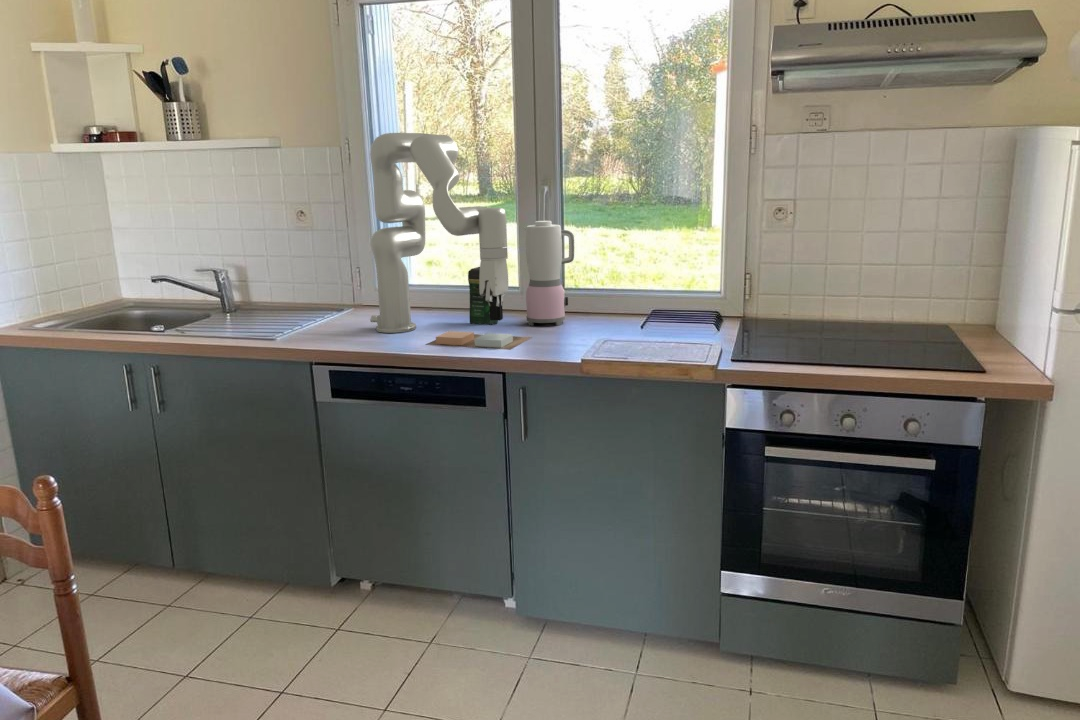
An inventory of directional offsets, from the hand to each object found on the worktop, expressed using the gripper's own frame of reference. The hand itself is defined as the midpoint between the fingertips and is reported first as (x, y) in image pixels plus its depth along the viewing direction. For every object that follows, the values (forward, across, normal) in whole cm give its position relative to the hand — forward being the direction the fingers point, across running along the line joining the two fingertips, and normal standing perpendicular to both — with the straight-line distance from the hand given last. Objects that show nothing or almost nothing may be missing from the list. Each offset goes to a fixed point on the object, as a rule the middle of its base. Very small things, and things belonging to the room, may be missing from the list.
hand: (496, 319), depth 227 cm
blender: (+8, -35, +3) cm, 36 cm away
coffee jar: (+8, -28, -17) cm, 34 cm away
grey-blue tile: (+5, -2, 0) cm, 6 cm away
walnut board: (+8, -1, -6) cm, 10 cm away
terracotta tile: (+5, -2, -12) cm, 13 cm away
